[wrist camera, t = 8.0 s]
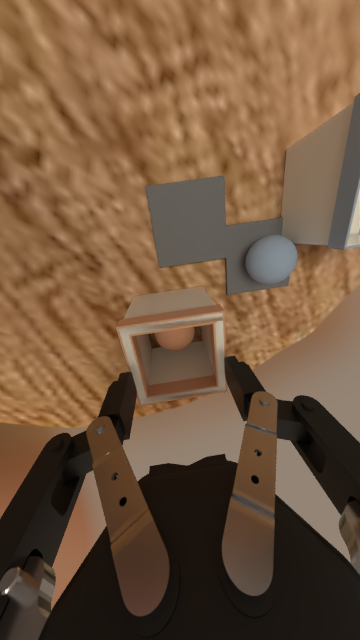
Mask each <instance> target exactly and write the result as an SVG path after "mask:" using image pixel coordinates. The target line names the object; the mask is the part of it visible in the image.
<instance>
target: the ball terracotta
mask: <svg viewBox="0 0 360 640" xmlns="http://www.w3.org/2000/svg"><path fill="white" fill-rule="evenodd" d="M194 333H195V328H194V327H189V328H182V329H176V330H169V331H163V332H156V333H154V335H155V338H156V340H157V342H158V343H159V344H160V345H161V346H162V347H163V348H165V349H167V350H170V351H178V350H182V349H184V348H186V347H187V346H188V345H189V344H190V343H191V342H192V340H193V337H194Z"/></svg>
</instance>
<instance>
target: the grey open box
mask: <svg viewBox="0 0 360 640" xmlns="http://www.w3.org/2000/svg"><path fill="white" fill-rule="evenodd" d="M195 326H201V336H202V341H197V342H191V343H190V344H189V345H188V346H187V347H186V348H184V349H182V350H178V351H170V350H167V349H165V348H163V347H158V348H152V346H151V342H150V338H149V333H156V332H163V331H169V330H176V329H182V328H189V327H195ZM116 330H117V333H118V336H119V339H120V343H121V346H122V349H123V352H124V356H125V359H126V362H127V365H128V369H129V372H131V373H132V375H133V379H134V382H135V385H136V389H137V398H138V401H139V404H140V406H143V405H149V404H155V403H161V402H168V401H174V400H180V399H187V398H193V397H199V396H205V395H212V394H218V393H224V392H227V382H226V378H225V369H224V357H226V335H225V311H224V309H223V308H222V307H221V306H220V304H218V305H216V304H215V302H214V301H213V300H212V298H211V297H210V296H209V294H208V293H207V292H206V290H205V289H204V288H203V287H202V286H200V287H193V288H187V289H180V290H173V291H167V292H160V293H153V294H147V295H140V296H134V298H133V300H132V302H131V304H130V306H129V308H128V310H127V312H126V315H125V317H124V319H120V320H119V322H118V324H117V326H116Z"/></svg>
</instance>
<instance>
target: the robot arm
mask: <svg viewBox="0 0 360 640" xmlns="http://www.w3.org/2000/svg"><path fill="white" fill-rule="evenodd" d="M224 369H225V378H226V382H227V384H228V386H229V389H230V391H231V393H232V396H233V398H234V400H235V403H236V405H237V407H238V410H239V412H240V414H241V417H242V419H243V421H247V424H246V425H245V430H244V435H243V440H242V445H241V450H240V456H239V461H238V463H236V462H232V461H227V460H226V457H225V454H222V455H215V456H209V457H205V458H203V459H201V460H199V461H197V462H195V463H193V464H191V465H188V466H185V465H178V464H170V463H167V464H161V465H155V466H150V471H149V474H147V475H146V476H144V477H142V478H141V479H140V480H139V481H138V482H137V480H136V477H135V475H134V473H133V470H132V468H131V466H130V463H129V461H128V459H127V456H126V454H125V452H124V449H123V447H122V445H123V440H127V439H129V438H130V431H131V426H132V420H133V414H134V409H135V403H136V397H137V389H136V385H135V382H134V379H133V375H132V373H131V372H126V373H120V375H119V378H118V381H114V382H113V383H112V384H111V385H110V387H109V388H108V391H107V394H106V397H105V400H104V402H103V405H102V408H101V410H100V413H99V416H98V418H97V419H95V420H94V421H93V422H92V423H91V424H90V425H89V426H88V428H87V430H86V431H84V432H82V433H80V434H77V435H75V436H73V437H71V436H70V434H68V433H62V434H59V435H56V436H55V437H53V438H52V439H51V440H50V441H49V442H48V443H47V444H46V445H45V447H44V448H43V450H42V451H41V453H40V455H39V456H38V458H37V460H36V461H35V463H34V465H33V466H32V468H31V470H30V471H29V473H28V475H27V476H26V478H25V479H24V481H23V483H22V484H21V486H20V488H19V489H18V491H17V493H16V494H15V496H14V497H13V499H12V501H11V502H10V504H9V506H8V507H7V509H6V510H5V512H4V514H3V515H2V517H1V519H0V640H360V443H359V442H358V441H357V440H356V439H355V438H354V437H353V436H352V435H351V434H350V433H349V432H348V431H347V430H346V429H345V428H344V427H343V426H342V425H341V424H340V423H339V422H338V421H337V420H336V419H335V418H334V417H333V416H332V415H331V414H330V413H329V412H328V411H327V410H326V409H325V408H324V407H323V406H322V405H321V404H320V403H319V402H318V401H317V400H315V399H313V398H311V397H309V396H302V395H300V396H297V397H295V398H294V400H293V402H292V401H282V400H278V399H276V398H275V397H274V396H273V395H272V394H270V393H268V392H266V391H265V390H264V388H263V386H262V385H261V384H260V382H259V380H258V379H257V377H256V376H255V374H254V373H253V372H252V370H251V368H250V367H249V365H247V364H246V363H245V362H238V360H237V359H236V357H235V356H230V357H224ZM277 438H279V439H285V440H290V441H291V442H292V444H293V445H294V446H295V448H296V449H297V451H298V452H299V454H300V455H301V457H302V458H303V460H304V461H305V463H306V464H307V466H308V467H309V469H310V470H311V472H312V473H313V475H314V476H315V478H316V479H317V481H318V482H319V484H320V485H321V486H322V488H323V490H324V491H325V492H326V494H327V495H328V497H329V498H330V500H331V501H332V503H333V504H334V506H335V507H336V509H337V510H338V512H339V513H340V514H341V517H340V519H339V529H340V533H341V536H342V538H343V540H344V542H345V544H346V546H347V548H348V551H349V554H350V559H351V563H350V562H349V561H348V560H347V559H346V558H345V557H344V556H343V555H342V554H341V553H340V552H339V551H338V550H337V549H336V548H334V547H333V546H332V545H331V544H330V543H329V542H328V541H327V540H326V539H324V538H323V537H322V536H321V535H320V534H319V533H318V532H317V531H316V530H315V529H313V528H312V527H311V526H310V525H309V524H308V523H307V522H306V521H305V520H304V519H303V518H301V517H300V516H299V515H298V514H297V513H296V512H295V511H294V510H293V509H291V508H290V507H289V506H288V505H287V504H286V503H285V502H284V501H282V500H281V499H280V498H279V497H278V496H277V495H276V494H275V481H276V453H277V452H276V451H277ZM92 470H93V471H94V475H95V479H96V483H97V487H98V491H99V495H100V499H101V503H102V508H103V512H104V516H105V520H106V524H107V526H106V527H105V529H104V530H103V532H102V534H101V535H100V537H99V538H98V540H97V541H96V543H95V544H94V546H93V547H92V549H91V551H90V552H89V553H88V555H87V556H86V558H85V559H84V561H83V563H82V564H81V566H80V567H79V569H78V570H77V572H76V574H75V575H74V576H73V578H72V579H71V581H70V582H69V584H68V585H67V587H66V589H65V590H64V592H63V593H62V595H61V596H60V598H59V599H58V601H57V602H56V604H55V605H54V607H53V609H52V611H51V601H52V596H53V592H54V587H55V582H56V576H55V571H54V570H53V568H52V565H53V563H54V560H55V557H56V555H57V552H58V549H59V547H60V544H61V541H62V538H63V536H64V533H65V530H66V528H67V525H68V522H69V519H70V517H71V514H72V511H73V509H74V506H75V503H76V500H77V498H78V495H79V492H80V490H81V487H82V484H83V481H84V479H85V476H86V473H88V472H90V471H92Z"/></svg>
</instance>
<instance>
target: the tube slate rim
mask: <svg viewBox="0 0 360 640" xmlns="http://www.w3.org/2000/svg"><path fill="white" fill-rule="evenodd" d="M281 218H283V225H282V236H284V237H286V238H288V239H289V240H291V241H292V242H293V243H294V244H312V245H328V246H327V248H334V249H349V248H355V247H360V93H359V94H358V95H357V96H355V99H354V103H352V104H351V105H349V106H348V107H347V108H345V109H344V110H342V111H341V112H339V113H338V114H337V115H335V116H334V117H332V118H331V119H330V120H328V121H327V122H325V123H324V124H322V125H321V126H320V127H318V128H317V129H315V130H314V131H313V132H311V133H310V134H308V135H307V136H305V137H304V138H303V139H301V140H300V141H298V142H297V143H296V144H294V145H293V146H291V147H290V148H288V149H287V150H286V161H285V173H284V186H283V198H282V210H281Z"/></svg>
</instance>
